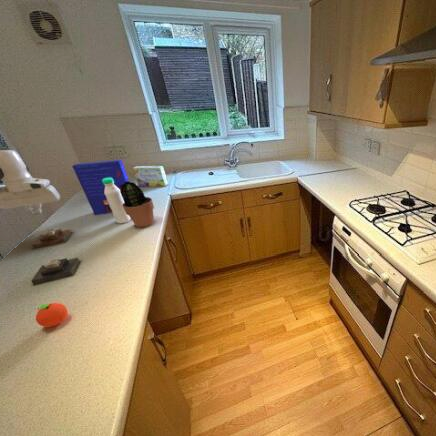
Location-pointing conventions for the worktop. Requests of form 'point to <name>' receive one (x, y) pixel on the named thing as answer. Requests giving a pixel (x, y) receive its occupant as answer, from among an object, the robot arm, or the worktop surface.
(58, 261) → the front key
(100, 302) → the worktop surface
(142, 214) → the potted plant
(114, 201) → the water bottle
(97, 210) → the cereal box
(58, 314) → the tomato
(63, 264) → the dark slab
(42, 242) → the reddish brown slab
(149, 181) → the snack box
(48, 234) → the back key
